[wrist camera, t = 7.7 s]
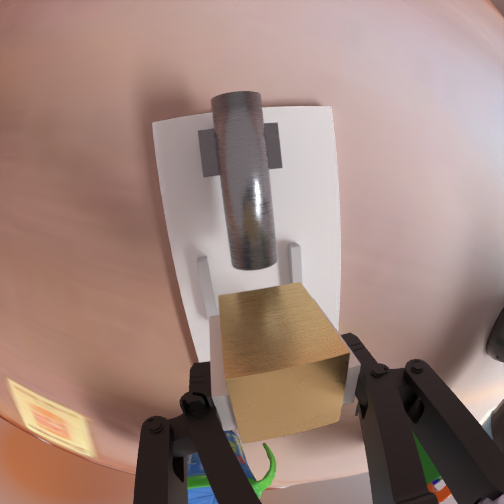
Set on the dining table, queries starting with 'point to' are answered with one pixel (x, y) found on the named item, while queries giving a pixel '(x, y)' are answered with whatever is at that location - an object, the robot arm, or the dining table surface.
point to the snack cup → (198, 484)
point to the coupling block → (281, 362)
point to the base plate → (284, 209)
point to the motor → (431, 474)
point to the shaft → (244, 175)
